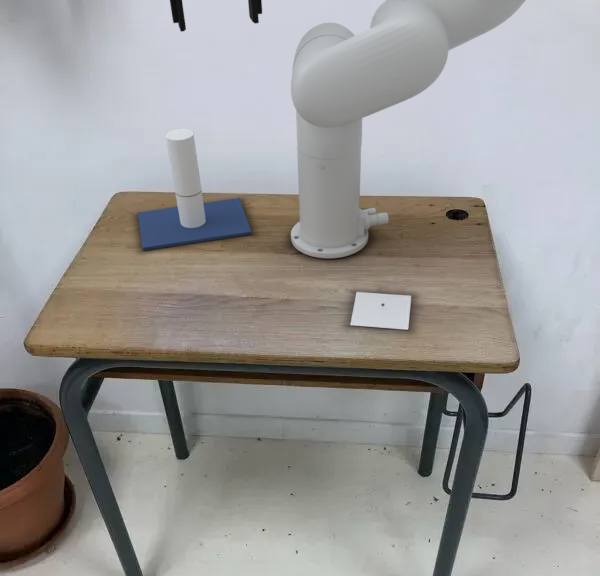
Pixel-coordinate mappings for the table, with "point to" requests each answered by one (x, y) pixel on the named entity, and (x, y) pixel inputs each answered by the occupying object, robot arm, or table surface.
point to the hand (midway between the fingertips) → (218, 24)
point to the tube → (186, 177)
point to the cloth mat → (169, 232)
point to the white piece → (381, 310)
